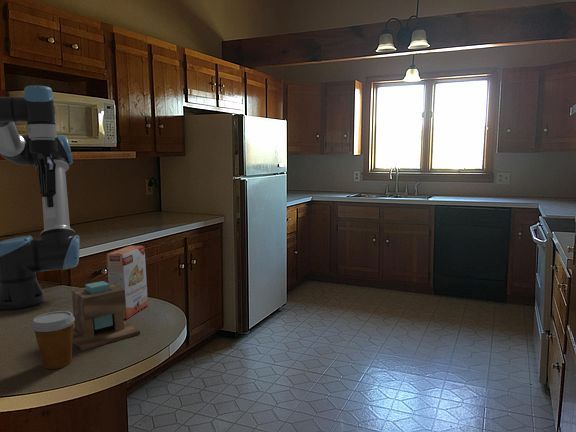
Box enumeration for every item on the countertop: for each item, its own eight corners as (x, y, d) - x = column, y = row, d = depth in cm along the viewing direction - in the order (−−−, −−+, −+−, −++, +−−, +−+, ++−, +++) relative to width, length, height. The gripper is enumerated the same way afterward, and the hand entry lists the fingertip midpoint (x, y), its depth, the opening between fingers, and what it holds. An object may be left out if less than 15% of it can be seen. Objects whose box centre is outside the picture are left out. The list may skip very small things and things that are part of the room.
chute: (63, 334, 136) (59, 290, 135) (118, 320, 147) (115, 279, 145) (81, 350, 124) (77, 302, 123) (140, 334, 135) (137, 289, 133)
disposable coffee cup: (76, 368, 114) (71, 320, 112) (31, 375, 111) (26, 325, 110) (81, 353, 123) (77, 308, 121) (40, 358, 120) (35, 313, 119)
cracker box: (127, 320, 147) (122, 253, 144) (110, 319, 148) (104, 253, 146) (149, 305, 161) (145, 245, 158) (133, 305, 162) (128, 244, 159)
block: (88, 325, 136) (85, 284, 134) (106, 320, 139) (103, 280, 137) (95, 329, 132) (91, 287, 130) (112, 325, 135) (109, 284, 133)
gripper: (23, 140, 144) (31, 217, 147) (34, 138, 134) (42, 221, 137) (50, 140, 149) (57, 214, 152) (62, 138, 139) (70, 218, 142)
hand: (50, 217), depth 145 cm, fingers closed
